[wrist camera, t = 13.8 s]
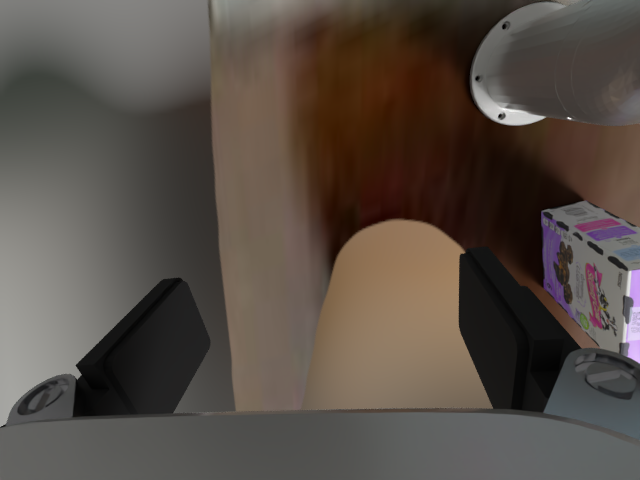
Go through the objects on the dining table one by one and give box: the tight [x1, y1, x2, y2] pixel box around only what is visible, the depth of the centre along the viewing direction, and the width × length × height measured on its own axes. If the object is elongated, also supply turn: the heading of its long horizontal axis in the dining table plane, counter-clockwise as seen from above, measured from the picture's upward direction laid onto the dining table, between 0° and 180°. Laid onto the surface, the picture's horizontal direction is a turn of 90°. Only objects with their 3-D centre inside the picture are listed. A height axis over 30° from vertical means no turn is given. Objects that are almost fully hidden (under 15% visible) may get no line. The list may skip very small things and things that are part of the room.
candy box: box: [541, 201, 640, 363], centre depth 39 cm, size 14×6×16 cm, turn 18°
